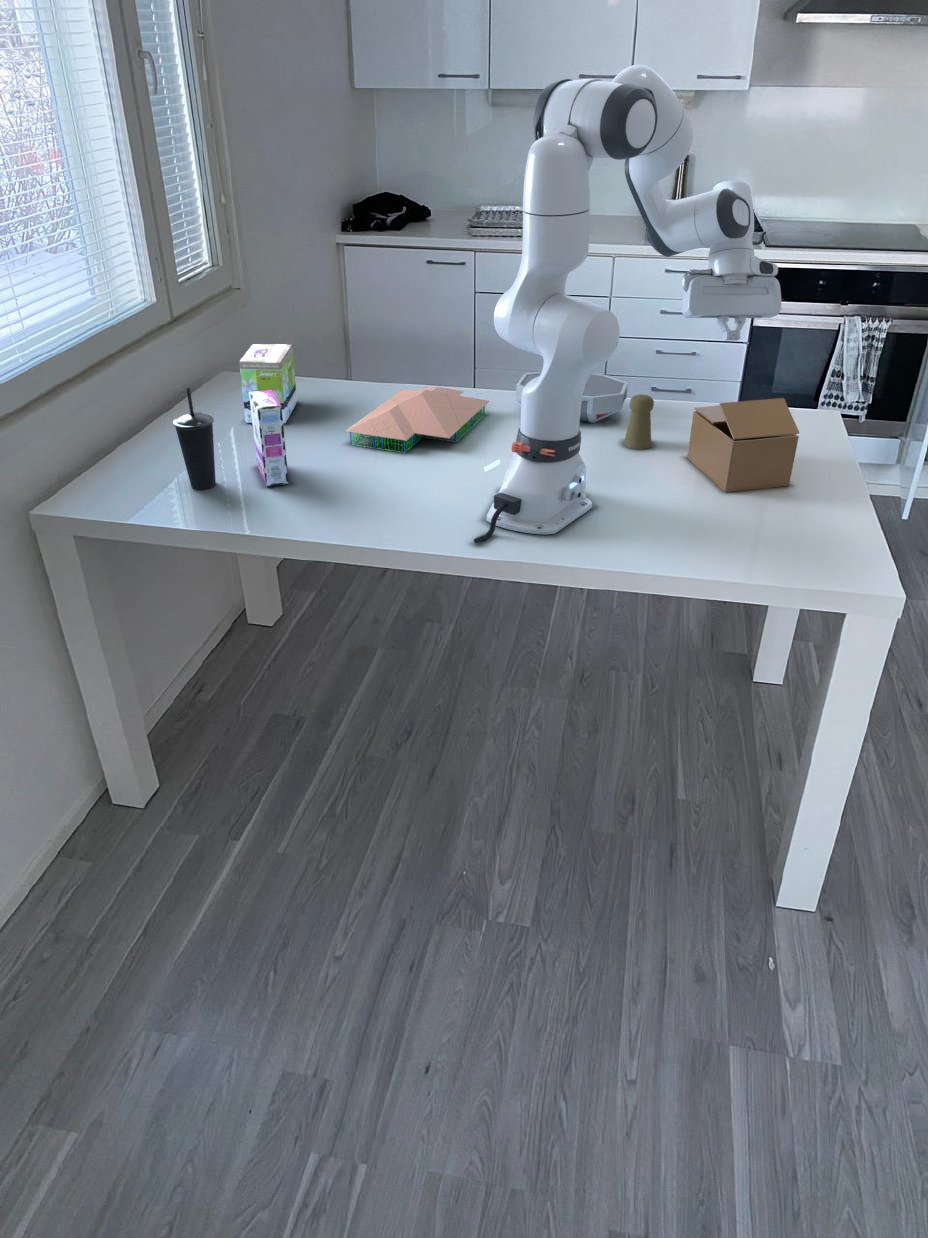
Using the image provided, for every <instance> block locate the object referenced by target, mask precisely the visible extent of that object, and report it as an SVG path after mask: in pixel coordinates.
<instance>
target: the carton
mask: <svg viewBox="0 0 928 1238" xmlns="http://www.w3.org/2000/svg"><path fill="white" fill-rule="evenodd" d="M693 410H694V411H693V412H692V413H693V414H692V419H691V420H692V421H691V429H690V436H689V441H688V450H687V457H686V458H687V460H689V461H690V463H692V464H693V465H694V466H695V467H696V468H697V469H699V470H700V471H701V473H703V474H704V475H705V476H707V478H709V479H710V480H711V481H712V482H713V483H714V484H715V485H717V487H719V488H720V489H721V490H722V491H723V492H724V493H731V492H739V491H751V490H761V489H771V488H780V487H789V486H790V482H791V477H792V472H793V468H794V463H795V457H796V452H797V449H798V443H799V439H800V438H799V437H800V436H799V435H798V434H791V435H780V436H768V437H757V438H745V439H733V437H732V435H731V432H730V430H729V427H728V425H727V422H726V420H725V418H724V415H723V413H722V410H721V408H720V405H709V406H708V405H707V406H697V407H694V409H693Z"/></svg>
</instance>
